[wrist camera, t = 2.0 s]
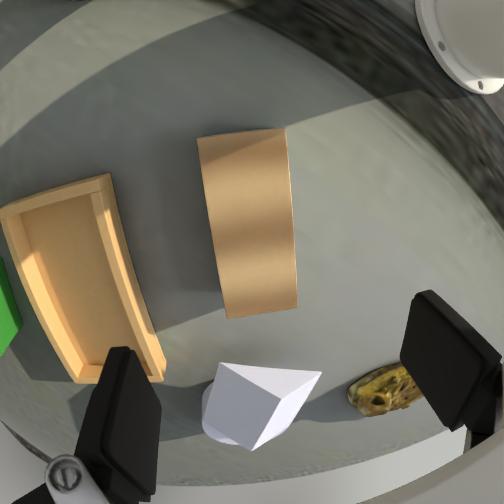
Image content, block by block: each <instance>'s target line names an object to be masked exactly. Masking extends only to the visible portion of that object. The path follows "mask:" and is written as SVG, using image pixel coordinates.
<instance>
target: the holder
mask: <svg viewBox="0 0 504 504" xmlns="http://www.w3.org/2000/svg"><path fill="white" fill-rule="evenodd" d="M0 222H1V225H2V229H3V232H4V235H5V238H6V241H7V244H8V247H9V250H10V253H11V256H12V259H13V261H14V264H15V267H16V269H17V272H18V274H19V277H20V279H21V282H22V284H23V287H24V289H25V291H26V294H27V296H28V298H29V300H30V303H31V305H32V307H33V309H34V311H35V313H36V315H37V317H38V320H39V322H40V324H41V326H42V327H43V329H44V331H45V333H46V335H47V337H48V339H49V341H50V343H51V344H52V346H53V348H54V350H55V352H56V353H57V355H58V357H59V358H60V360H61V362H62V363H63V365H64V367H65V368H66V370H67V372H68V373H69V375H70V376H71V378H72V379H73V381H74V382H75V383H82V384H97V383H98V380H99V377H100V374H101V371H102V369H103V366H104V363H105V360H106V357H107V354H108V352H109V349H110V348H111V347H118V346H128V347H129V348H130V350H135V352H136V354H137V356H138V358H139V360H140V362H141V365H142V367H143V369H144V371H145V373H146V375H147V377H148V379H149V381H150V382H163V381H164V375H165V369H166V360H165V357H164V355H163V352H162V349H161V347H160V344H159V342H158V339H157V336H156V334H155V331H154V328H153V325H152V322H151V320H150V317H149V314H148V311H147V308H146V305H145V302H144V299H143V296H142V293H141V290H140V287H139V284H138V280H137V277H136V274H135V271H134V267H133V264H132V260H131V257H130V253H129V250H128V246H127V243H126V239H125V235H124V231H123V227H122V223H121V219H120V215H119V211H118V207H117V202H116V198H115V194H114V189H113V184H112V179H111V174H110V173H106V174H102V175H98V176H95V177H91V178H87V179H83V180H80V181H76V182H72V183H69V184H65V185H62V186H59V187H55V188H52V189H49V190H46V191H42V192H39V193H36V194H33V195H30V196H27V197H24V198H21V199H19V200H16V201H13V202H12V203H9V204H8V205H6V206H4V207H2V208H0Z"/></svg>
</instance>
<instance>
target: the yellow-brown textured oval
mask: <svg viewBox="0 0 504 504" xmlns="http://www.w3.org/2000/svg"><path fill="white" fill-rule="evenodd" d="M347 396H348V398H349V401H350V403H351V404H352V405H353V406H354V407H355V408H356V409H358V411H359V412H360V413H361V414H362V415H363V416H366V417H372V416H377V415H383V414H386V413H387V412H389V411H393V410H397V409H399V408H402V409H405V408H408V407H409V406H410V404H411V403H413V402H415V401H416V400H418V399H420V398H421V397H423V396H424V395H423V393H422V392H421V391H420V389H419V388H418V386H417V385H416V383H415V382H414V380H413V379H412V377H411V376H410V375H409V373H408V372H407V370H406V369H405V368H404V366H403V365H402V363H401V362H398V363H394V364H391V365H388V366H384V367H382V368H380V369H378V370H375V371H373V372H372V373H370V374H368V375H366V376H365V377H363V378H362V379H360V380H359V381H357V382H356V383H354V384H353V385H352V386H350V387H349V389H348V390H347Z"/></svg>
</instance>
